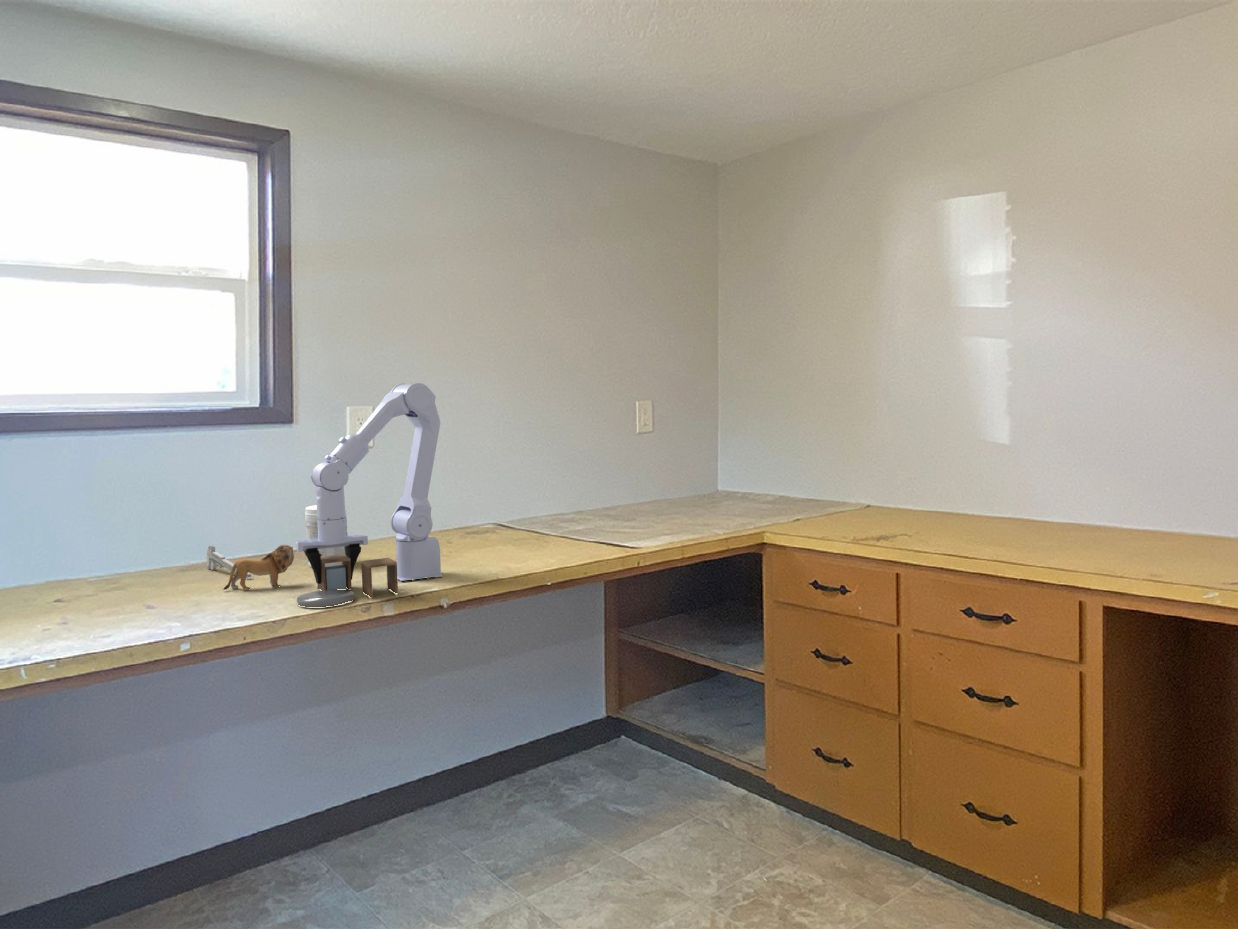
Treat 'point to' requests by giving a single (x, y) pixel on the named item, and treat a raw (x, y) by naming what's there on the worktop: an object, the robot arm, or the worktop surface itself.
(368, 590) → the brown wooden stool
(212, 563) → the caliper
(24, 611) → the worktop surface
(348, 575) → the brown wooden arch
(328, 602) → the dish
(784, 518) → the worktop surface
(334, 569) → the block
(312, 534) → the supplement tub
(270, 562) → the lion figurine
